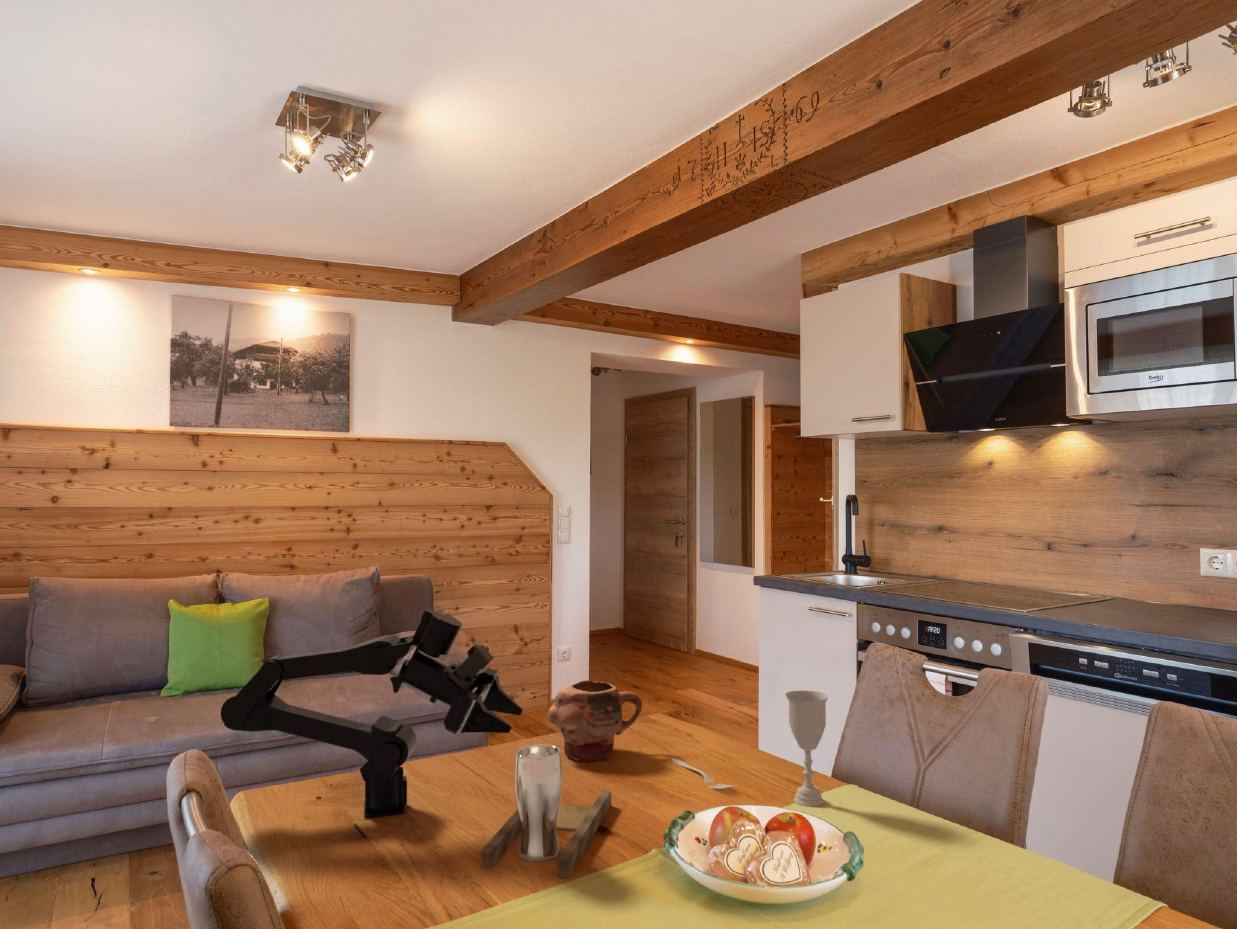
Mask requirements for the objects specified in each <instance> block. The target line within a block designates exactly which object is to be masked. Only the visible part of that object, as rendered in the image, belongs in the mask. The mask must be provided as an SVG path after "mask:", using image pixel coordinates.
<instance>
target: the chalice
mask: <svg viewBox="0 0 1237 929" xmlns="http://www.w3.org/2000/svg"><path fill="white" fill-rule="evenodd" d="M785 698H786V699H787V701H788V723H789V724H788V725H789V727H790V730H791V732H792V735H793V738H794V739H795V741H796V743H797V745H798V747H799V748H800V749H802V750H804V759H803V760H802V762H803V763H804V770H803V771H802V773H803V774H804V778H805V780H804V783H803V784H801V785H800V786H799V787H798V788H797V791H796V793H795V796H794V798H793V802H794V803H796V805H797V804H798V805H800V806H803V807H809V806H815V807H819V805H820V806H822V805H823V804H824V802H825V801H824V799H823V797H822V794H821V792H820V789H819V788H818V787H817V786H816V785H814V784H813V782H812V777H813V775H814V773H815V772H814V771H813V770H812V764H813V762H814V761H813V759H812V751H813V750H816V749H817V748H818V745H819V743H820V741H821V739H822V738H823V735H824V732H825V729H826V726H827V717H826V716H827V715H826V713H827V712H826V709H827V708H826V703H827V701H828V700H829V695H828V694H826V693H824V692H819V691H812V690H792V691H788V692H786V693H785Z"/></svg>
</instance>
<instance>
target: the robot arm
mask: <svg viewBox="0 0 1237 929" xmlns="http://www.w3.org/2000/svg"><path fill="white" fill-rule="evenodd" d="M462 627H463V624H462V622H461V621H460V620H459V619H457V618H455V617H454V616H452V615H450V614H448V613H446V614H445V613H442V612H440V611H439V612H438V611H433V610H431V609H429V608H426V610H424V612H422V616H421V619H420V623H419V624H418V626H417V628H416V631H415V632H414V635H413V634H412V635H409V636H404V637H398V635H394V634H385V635H382V636H378V637H375V638H372V639H370V640H366V641H363V642H361V643H358V644H355V645H352V646H348V647H346V646H345V647H341V648H339V647H338V648H332V649H325V650H324V649H323V650H316V651H310V652H309V651H308V652H302V653H300V652H299V653H293V654H277V655H275V656H273V657H271V658H269V659H267V660H266V661H264V662H263V664H262V665H261V667H260V668H259V670H257V672H256V673H255V674H254V676H252V677H251V678H250V679H249V681H248V682H247V683H246V684H245V685H244V686H243V687H242V688H241V689H240V690H239V691H238V693H236V694H234V695H233V696H230V697H229V698H227V699H226V700H225V701H224V702H223V704H222V706H221V708H220V718H221V721H222V722H223V726H224V727H225V728H227V729H229V730H231V731H234V732H236V731H238V732H249V733H251V732H252V733H256V732H268V731H274V732H275V731H277V732H280V733H284V734H287V735H291V736H296V737H300V738H302V739H303V738H304V739H307V740H312V741H315V742H318V743H319V742H320V743H322V744H326V745H332V746H335V747H338V748H343V749H347V750H351V751H354V752H355V753H358V755H360V757H362V758H364V759H365V762H364V763H363V764H362V765H361V767H360V768H359V772H360V774H361V775H360V776H361V778H362V780H363V781H364V803H363V805H364V806H363V816H364V818H372V817H373V818H374V817H379V816H380V817H381V816H387V815H396V814H403V813H405V806H407V805H408V779H407V776H406V775H404V767H403V765H404V764H405V762H407V760H408V759H409V757H410V756H411V754H413V752H414V751H415V748H416V746H417V734H416V733H415V731H414V728H413V727H411V726H409V725H408V724H405V720H404V719H400V720H399V719H393V718H390V717H388V716H385V715H380V716H379V718H377V720H375V721H374V723H364V722H359V721H355V720H351V719H348V718H343V717H338V716H335V715H332V714H327V713H324V712H319V711H315V710H312V709H308V708H304V707H299V706H296V705H292V704H289V703H286V702H285V701H284V700H283V699H282V698H280V697H279V696H278V695H277V694H276V693H277V692H278V691H279V689H280V688H281V686H282V684H283V682H284V680H292V679H293V680H294V679H301V678H308V677H315V676H323V675H330V674H331V675H332V674H338V673H339V674H340V673H353V674H354V673H355V674H361V675H371V676H373V675H375V676H383V675H388V674H389V673H391V671H393V670H394V669H395V668H396V667H398V666H399V665H400V664H401V663H402V665H401V666H400V668H399V671H398V672H397V674H395V675H393V676H391V677H390V678H389V680H390V683H391V685H392V691H393V693H394V694H398V693H399V692H400V691H402V690H403V689H404V688H405V686H409V687H411V688H412V689H413V688H414V690H417V691H419V692H421V693H422V694H425V695H426V696H429V697H430V698H429V702H430V703H433V705H434V704H435V703H437V702H440V703H442V704H443V705H446V706H448V707H449V709H448V712H447V714H446V716H445V718H444V720H443V724H444V729H445V730H446V731H448V732H449V733H452V734H453V735H457V734H458V733H459V732H460V734H465V733H494V734H496V733H498V734H510V733H511V730H512V728H513V727H512V725H510V724H509V722H507V721H505V720H504V719H502V718H501V717H499V716H498V715H496V714H495V713H494V712H496V713H502V714H508V715H512V716H513V715H514V716H515V715H516V716H521V715H522V713H523V708H522V707H521V706H520V705H519V704H518V703H516V702H515V700H513V699H512V697H511V696H509V695H508V694H507V693H506V692H505V691H504V689H502V686H501V683H500V676H499V675H497V674H498V671H497V670H495V669H493V668H491V667H486V666H488V665H489V664H490V662H491V661H492V660H493V659H495V657H494V655H492V654H491V652H490V647H488V646H485V645H484V644H483V643H482V644H481V645H479V644H477V643H475V644H473V645H472V646H471V647H470V648H469V649H468V650H466V652H467V658H466V659H465V660H464V661H463V662H461V664H460V665H459V664H457V663H451V664H449V665H446V664H444V663H443V662H440V661H439V660H438V659H440V657H441V656H448V654H449V653H450V650H451V649H452V647H453V644H454V642H455V641H456V639H457V636H458V634H459V632H460V630H461V628H462ZM413 650H414V652H413V653H412V655H411V658H410V659H405V657H406V656H407V655H408V654H410V652H412V651H413ZM404 659H405V660H404ZM403 660H404V661H403ZM402 661H403V662H402ZM460 730H461V731H460Z"/></svg>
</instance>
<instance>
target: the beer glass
mask: <svg viewBox="0 0 1237 929" xmlns="http://www.w3.org/2000/svg"><path fill="white" fill-rule="evenodd" d="M515 753H516V756H515V757H516V759H515V774H514V775H515V777H514V780H515V781H514V782H515V783H514V784H515V787H514V788H515V795H516V802H517V809H519V815H520V820H521V833H520V841H519V845H518V847H519V848H518V856H519V857H520V858H521V859H523V860H525V861H527V862H536V863H537V862H546V861H550V860H552V859H555V858H556V857H557V856H558V855H559V854H560V849H561V848H560V844H559V839H558V829H557V817H558V811H559V805H560V804H561V796H562V786H563V784H562V783H563V774H562V772H563V771H562V770H563V769H562V760H561V749H560V748H559V747H558V746H556V745H553V744H546V743H545V744H544V743H537V744H530V745H525V746H522V747H519V748H518V749H517V750H516V752H515Z"/></svg>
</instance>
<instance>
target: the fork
mask: <svg viewBox="0 0 1237 929" xmlns="http://www.w3.org/2000/svg"><path fill="white" fill-rule="evenodd" d="M671 758H672V760H671V761H672V762H673V763H675V764H677V765H679V766H681V767H683V768H686V769H689V770H691V771H694V772H697V773H699V774H701V775H702V777H703V778H704V783H709V782H715V779H713V778H711V777H710V776H709V775H707V774H706V773H705V771H702V770H700V769H698V768H695V767H694V766H692V765H690V764H688V763H686V762H684V761H682V760H680V759H678V758H675V757H671ZM708 787H709V788H711V789H716V790H718V789H720V790H721V789H722V790H723V789H729V788H734V787H735V788H736V787H737V785H733V784H731V785H730V784H724V783H719V784H714V785H709V786H708Z"/></svg>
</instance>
